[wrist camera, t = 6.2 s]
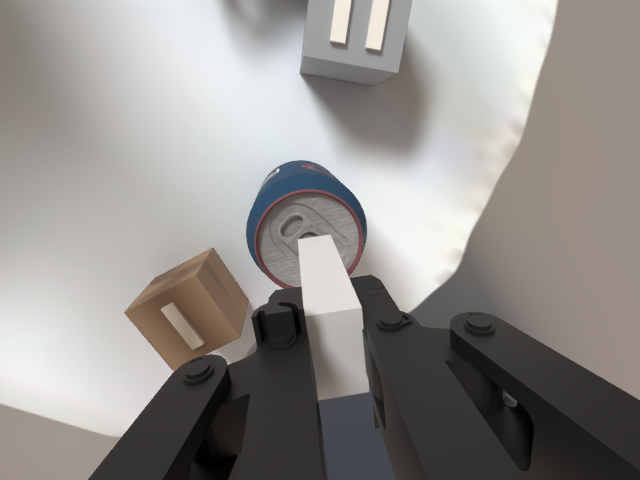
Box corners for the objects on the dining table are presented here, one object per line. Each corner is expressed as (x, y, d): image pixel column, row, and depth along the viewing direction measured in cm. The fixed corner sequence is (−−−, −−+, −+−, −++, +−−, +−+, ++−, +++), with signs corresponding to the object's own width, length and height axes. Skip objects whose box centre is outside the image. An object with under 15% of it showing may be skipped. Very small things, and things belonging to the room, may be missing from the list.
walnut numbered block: (193, 327, 31) (171, 373, 25) (155, 277, 29) (122, 314, 23) (248, 299, 31) (239, 339, 25) (213, 247, 29) (194, 276, 23)
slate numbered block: (299, 73, 25) (303, 54, 19) (309, -18, 24) (317, -69, 18) (373, 86, 26) (399, 72, 20) (389, -1, 24) (422, -44, 18)
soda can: (355, 200, 29) (401, 244, 18) (299, 253, 30) (308, 326, 19) (300, 141, 27) (311, 146, 16) (242, 199, 28) (213, 245, 17)
